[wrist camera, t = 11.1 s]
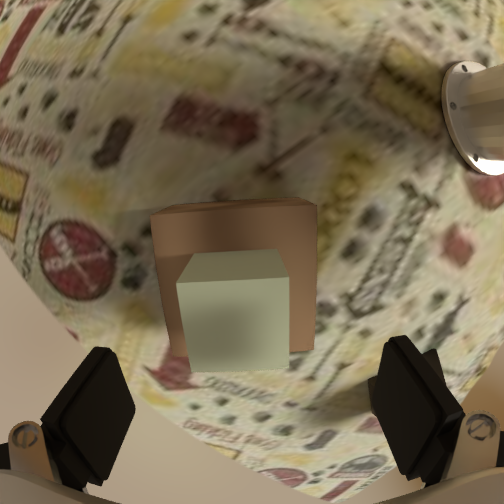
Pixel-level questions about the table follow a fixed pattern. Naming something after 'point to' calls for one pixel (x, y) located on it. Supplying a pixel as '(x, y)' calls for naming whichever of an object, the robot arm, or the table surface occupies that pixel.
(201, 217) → the walnut block
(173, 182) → the table surface
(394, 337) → the robot arm
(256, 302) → the sage block
